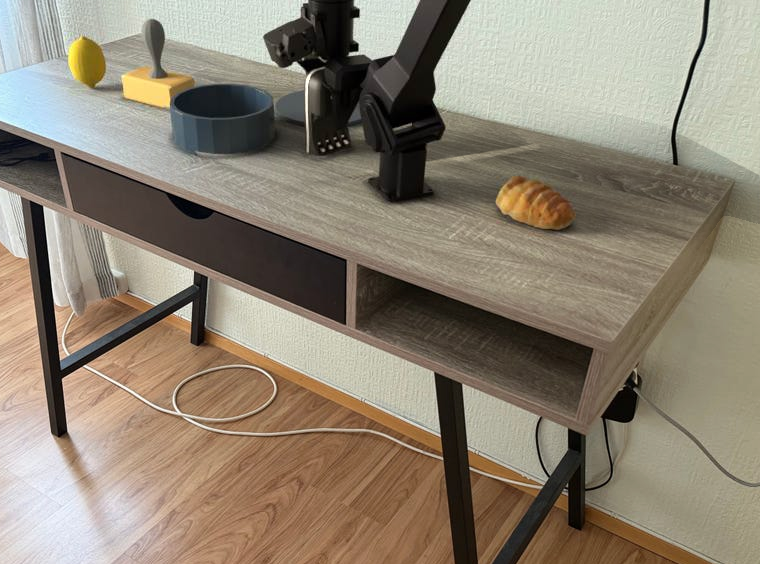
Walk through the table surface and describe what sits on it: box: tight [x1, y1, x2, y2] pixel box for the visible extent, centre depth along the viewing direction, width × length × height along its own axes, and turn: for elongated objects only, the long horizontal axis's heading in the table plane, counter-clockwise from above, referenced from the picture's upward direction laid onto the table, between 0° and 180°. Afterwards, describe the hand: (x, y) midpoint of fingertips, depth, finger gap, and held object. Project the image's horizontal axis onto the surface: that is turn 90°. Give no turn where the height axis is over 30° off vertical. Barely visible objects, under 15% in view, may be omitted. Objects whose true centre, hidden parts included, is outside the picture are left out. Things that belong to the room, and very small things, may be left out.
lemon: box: [68, 35, 107, 89], centre depth 129 cm, size 6×6×8 cm
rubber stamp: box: [121, 18, 196, 109], centre depth 124 cm, size 10×6×12 cm, turn 60°
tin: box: [169, 83, 276, 156], centre depth 115 cm, size 14×14×5 cm
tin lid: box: [274, 89, 362, 127], centre depth 123 cm, size 15×15×5 cm
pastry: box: [495, 175, 576, 231], centre depth 98 cm, size 9×7×4 cm
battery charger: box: [303, 66, 352, 157], centre depth 109 cm, size 7×4×11 cm, turn 132°
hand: (330, 120), depth 110 cm, fingers open, 7 cm apart
